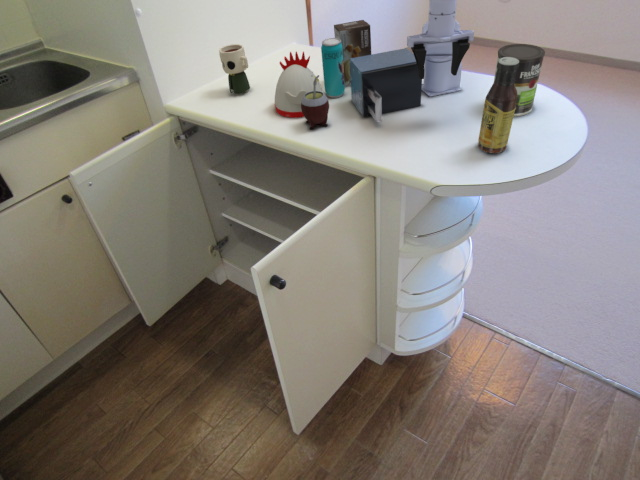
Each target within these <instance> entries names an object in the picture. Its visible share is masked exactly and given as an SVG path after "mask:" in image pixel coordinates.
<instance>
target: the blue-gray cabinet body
mask: <svg viewBox="0 0 640 480" xmlns="http://www.w3.org/2000/svg"><path fill="white" fill-rule="evenodd" d="M412 63H416V60H415V57H414V54H413V52H412V51H411V50H409V49H408V48H407V47H404V48H400V49H394V50H389V51H388V50H387V51H384V52H383V51H382V52H379V53H373V54H372V53H371V55H367V56H361V57H356V58H350V77H351V86H350V95H351V102H352V104H353V105H354V106H355V108H356V109H357V110H358V111H359V113H360V115H361V116H362V117H363V105H362V76H361V73H364V72H369V71H375V70H380V69H385V68H391V67H396V66H401V65H406V64H412Z"/></svg>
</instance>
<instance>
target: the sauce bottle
mask: <svg viewBox="0 0 640 480" xmlns="http://www.w3.org/2000/svg"><path fill="white" fill-rule="evenodd" d="M496 65H497V73H496V78H495V81H494V80H493V83H492V85H491V87H490V89H489V90H488V92H487V95H486V96H485V98H484V105H483V106H484V107H483V111H482V117H481V121H480V128H479V133H478V148H479V150H481V151H482V152H484V153H486V154H499V153H502V152H505V150H506V149H507V145H508V142H509V138H510V134H511V129H512V125H513V120H514V117H515V116H514V112H515V107H516V105H515V104H516V100H517V89H516V87H515V85H514V82H515V76H516V72H517V69H518V67H519V60H518V59H516V58H513V57H503V58H500V59H499V60H498V63H497V62H496Z"/></svg>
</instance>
